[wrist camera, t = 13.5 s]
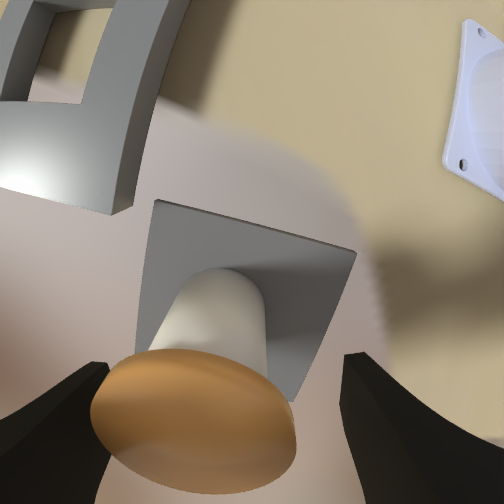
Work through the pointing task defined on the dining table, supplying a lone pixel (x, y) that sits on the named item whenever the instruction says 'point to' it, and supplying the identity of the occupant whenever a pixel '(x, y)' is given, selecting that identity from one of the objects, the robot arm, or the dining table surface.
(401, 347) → the dining table surface
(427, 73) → the dining table surface
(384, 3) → the dining table surface
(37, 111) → the grey panel with tab
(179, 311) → the mushroom
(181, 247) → the rubber mat
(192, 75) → the dining table surface
